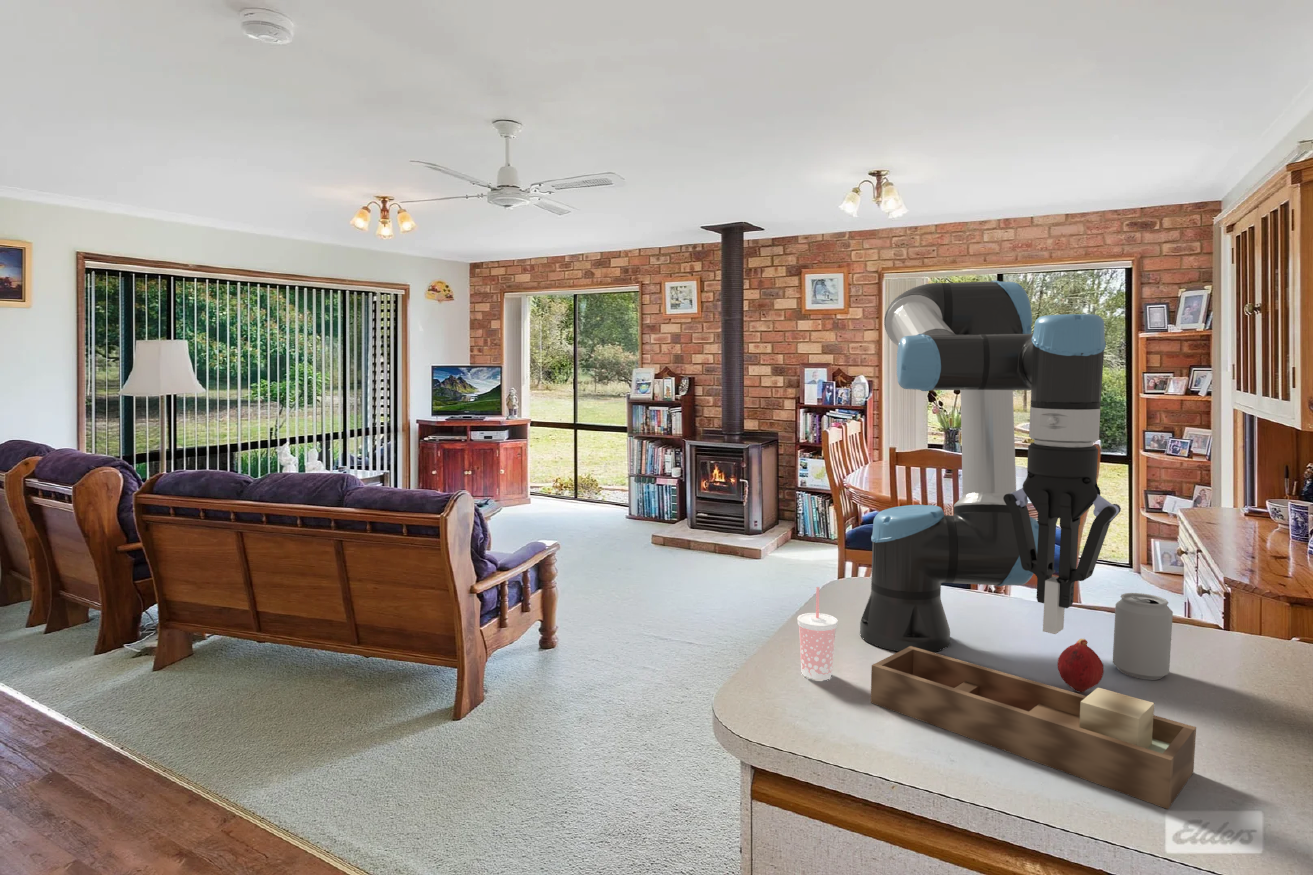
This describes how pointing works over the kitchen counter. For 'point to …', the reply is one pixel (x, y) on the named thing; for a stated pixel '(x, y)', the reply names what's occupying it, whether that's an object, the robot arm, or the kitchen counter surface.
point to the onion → (1080, 666)
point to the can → (1142, 636)
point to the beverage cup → (817, 642)
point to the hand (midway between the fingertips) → (1053, 629)
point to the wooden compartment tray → (1032, 723)
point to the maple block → (1118, 717)
